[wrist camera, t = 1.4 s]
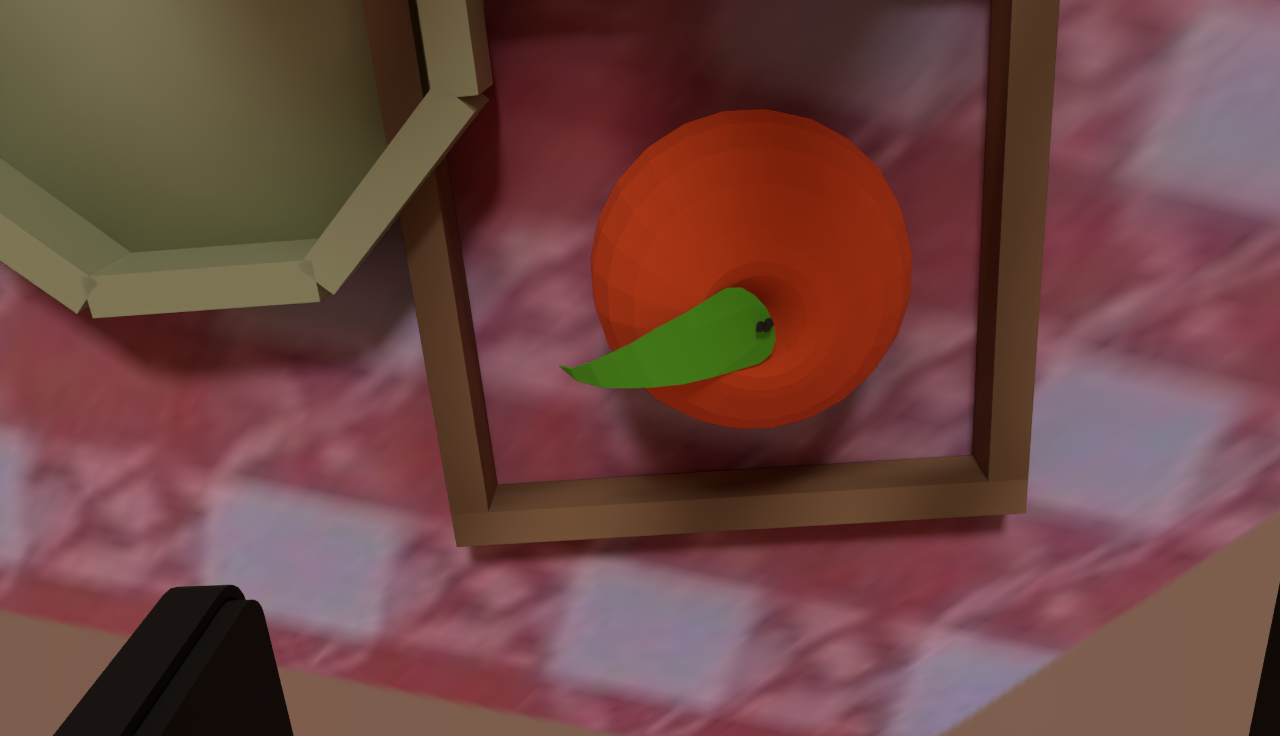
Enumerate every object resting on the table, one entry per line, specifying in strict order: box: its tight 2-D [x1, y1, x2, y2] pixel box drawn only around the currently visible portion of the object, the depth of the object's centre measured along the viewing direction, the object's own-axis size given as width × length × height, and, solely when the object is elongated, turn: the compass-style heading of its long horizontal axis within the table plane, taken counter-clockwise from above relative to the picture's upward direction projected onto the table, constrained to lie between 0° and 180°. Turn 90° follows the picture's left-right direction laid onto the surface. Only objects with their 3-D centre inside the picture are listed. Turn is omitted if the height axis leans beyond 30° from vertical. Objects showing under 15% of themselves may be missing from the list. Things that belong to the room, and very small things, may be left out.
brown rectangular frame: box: [362, 0, 1060, 547], centre depth 25 cm, size 15×15×2 cm
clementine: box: [559, 109, 912, 429], centre depth 22 cm, size 8×7×7 cm
